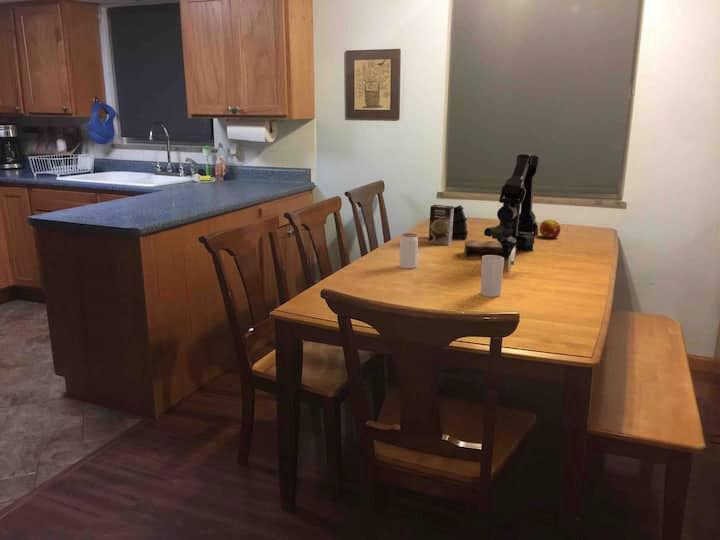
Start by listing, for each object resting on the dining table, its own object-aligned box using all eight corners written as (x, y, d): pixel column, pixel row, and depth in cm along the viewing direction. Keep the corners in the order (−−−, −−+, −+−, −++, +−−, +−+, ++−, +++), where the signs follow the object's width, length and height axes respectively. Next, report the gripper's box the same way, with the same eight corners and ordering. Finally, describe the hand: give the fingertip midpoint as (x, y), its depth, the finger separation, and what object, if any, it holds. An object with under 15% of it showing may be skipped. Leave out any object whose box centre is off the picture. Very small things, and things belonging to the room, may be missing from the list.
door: (511, 260, 236) (513, 247, 234) (517, 260, 235) (518, 248, 234) (507, 271, 220) (508, 257, 219) (512, 271, 219) (513, 258, 218)
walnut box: (509, 254, 245) (510, 242, 244) (511, 260, 236) (512, 247, 235) (464, 251, 248) (465, 239, 247) (464, 257, 238) (465, 245, 237)
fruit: (562, 240, 273) (564, 222, 271) (541, 239, 273) (543, 222, 271) (556, 235, 283) (557, 218, 280) (536, 235, 283) (538, 218, 281)
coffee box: (428, 243, 262) (429, 206, 258) (432, 240, 268) (433, 204, 264) (448, 245, 259) (450, 207, 255) (452, 242, 265) (454, 205, 261)
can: (418, 265, 226) (420, 234, 223) (414, 269, 220) (415, 237, 217) (401, 263, 228) (403, 232, 225) (397, 268, 222) (398, 235, 219)
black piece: (472, 237, 267) (459, 205, 266) (445, 247, 274) (433, 216, 273) (474, 235, 271) (462, 204, 270) (447, 245, 277) (435, 214, 276)
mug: (479, 290, 197) (481, 254, 194) (500, 291, 196) (503, 255, 193) (479, 299, 187) (482, 262, 184) (502, 301, 186) (505, 263, 183)
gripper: (476, 215, 224) (472, 255, 229) (519, 225, 211) (514, 268, 216) (495, 211, 232) (491, 251, 236) (537, 221, 218) (532, 262, 223)
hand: (506, 258), depth 228 cm, fingers closed
